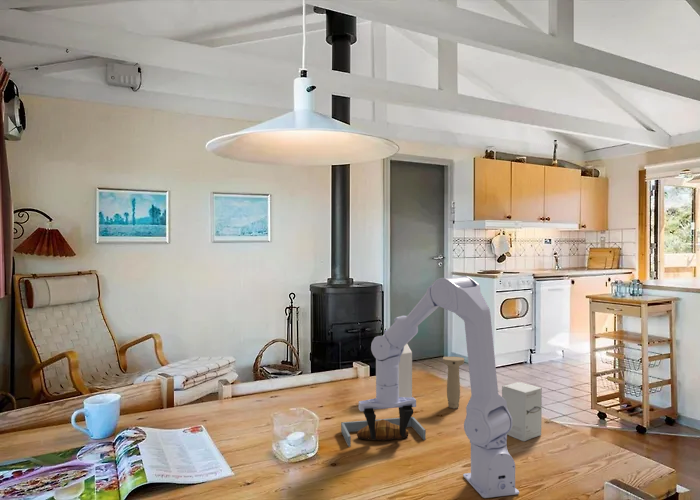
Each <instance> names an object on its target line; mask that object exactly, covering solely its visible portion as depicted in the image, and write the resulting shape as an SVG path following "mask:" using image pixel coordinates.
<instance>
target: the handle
mask: <svg viewBox="0 0 700 500" xmlns="http://www.w3.org/2000/svg"><path fill="white" fill-rule="evenodd" d="M442 363H443V364H444V365H446V366H447V379H446V380H447V381H446V398H447V405H448V408H449V409H459V408H460V407H459V406H460V400H461V398H460V397H461V381H460V367H461V366H462V365H464V364H465V357H461V356H443V357H442Z"/></svg>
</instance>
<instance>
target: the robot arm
mask: <svg viewBox="0 0 700 500" xmlns="http://www.w3.org/2000/svg"><path fill="white" fill-rule="evenodd" d="M438 308H441V309H445V310H447V311H449V312H452V313H453V314H456V316H458V318H460V319H462V321H463V322H464V330H465V341H466V343H465V344H466V351H467V360H468V361H467V362H468V363H467V364H468V371H469V372H468V373H469V382H470V383H469V384H470V392H471V396H470V399H468V402H467V404H466V407H465V409H466V411H465V412H466V415H465V419H464V422H463V430H464V432H465V435H466V438H467V439H468V440H469V443H470V472H466V473H463V475H462V476H463V477H464V479H465V480H466V481H467V482H468V483H469V484H470V485H471V486H472V487H473V489H474V490H475V491H476V492H477V493H478V494H479V495H480V497H482V498H484V499H489V498H496V497H506V496H514V495H519V494H520V490H519V489H517V488H516V462H515V460H514V458H513V457H512V455H511V454H510V452H509V451H508V446H507V442H508V441H507V440H508V435H507V433H508V432H509V431H510V430H511V428H512V424H513V421H512V417H511V414H510V413H509V411H508V408H507V403H506V400H505V399H504V398H503V397H502V395H500V394H499V388H498V387H499V386H498V379H497V378H498V376H497V368H496V366H497V365H496V357H495V347H494V337H493V327H492V326H493V325H492V318H491V310H490V306H489V305H488V303H487V302H486V300H485V298H484V296H483V294H482V292H481V285H480V283H478V281H475V280H474V279H473V278H471V277H470V276H467V275H461V276H457V277H454V276H453V277H440V278H437V279H436V280H434V281H433V283H432V284H431V285H429V286H428V287H427V289H426V292H425V294H424V295H422V297H421V299H419V301H418V302H417V304H415V306H414V307H413V308H412V309H411V311H410V312H409V313H408V314H407V315H400V316H396V317H394V319H393V321H394V322H393V323H392V324H391V326H389V328H388V329H387V328H386V329H385V330H384V331H383V335H377V336H375V337H374V338H373V339H372V341H371V346H370V350H371V353H372V355H373V357H374V358H375V384H376V385H375V398H369V399H366V400H365V399H364V400H359V401H358V410H359V412H362V413H363V415H364V417H365V420H367V423H368V426H369V430H370V436H371V438H372V440H371V441H375V440H374V439H375V420H377V419H376V418H377V417H376V416H377V415H376V413H375V410H383V409H384V410H385V409H396V408H398V415H399V417H398V418H400V425H399V432H400V435H401V436H402V437H405V432H406V429H407V428H408V427H407V425H408V422H409V420H410V418H411V417H413V415H414V408H417V399H416V398H415V397H414V396H412V397H399V362H400V356H401V355H402V353H403V351H404V346H405V345H406V344H408V343H409V342H410V341H412V339H414V337H415V336H416V335H417V334H418V332H419V325H421V323H422V322H424V321H425V320H426V319H427V318H428V317H429V316H430V315H431V314H433V312H435V311H436V310H437V309H438Z"/></svg>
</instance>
